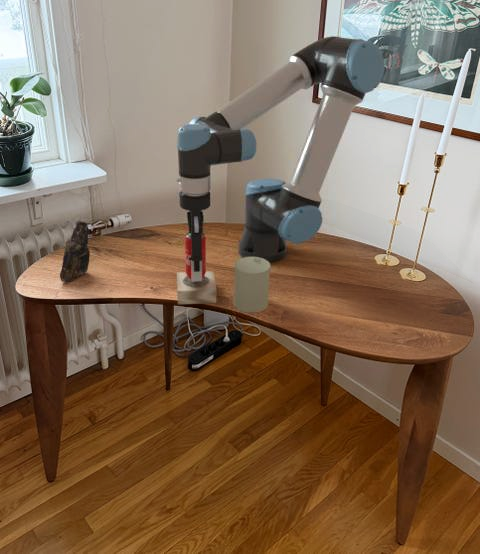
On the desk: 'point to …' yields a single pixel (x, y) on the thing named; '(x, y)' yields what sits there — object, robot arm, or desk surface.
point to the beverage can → (189, 254)
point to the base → (196, 289)
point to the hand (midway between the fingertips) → (196, 275)
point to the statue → (76, 254)
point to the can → (251, 284)
